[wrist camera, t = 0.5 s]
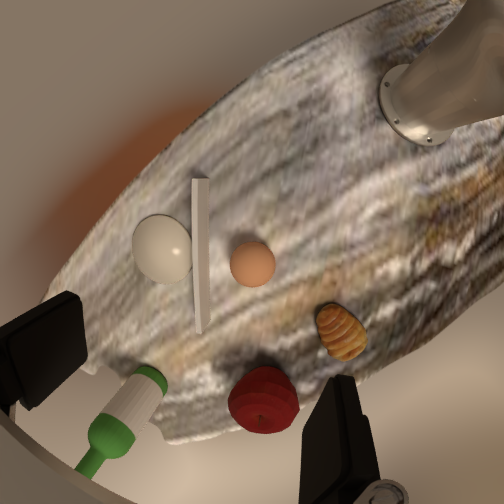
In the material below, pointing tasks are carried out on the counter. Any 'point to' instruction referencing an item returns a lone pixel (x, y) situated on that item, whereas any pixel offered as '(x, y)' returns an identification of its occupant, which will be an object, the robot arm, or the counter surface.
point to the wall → (201, 252)
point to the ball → (252, 264)
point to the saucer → (162, 249)
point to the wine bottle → (123, 419)
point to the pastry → (340, 332)
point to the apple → (264, 401)
